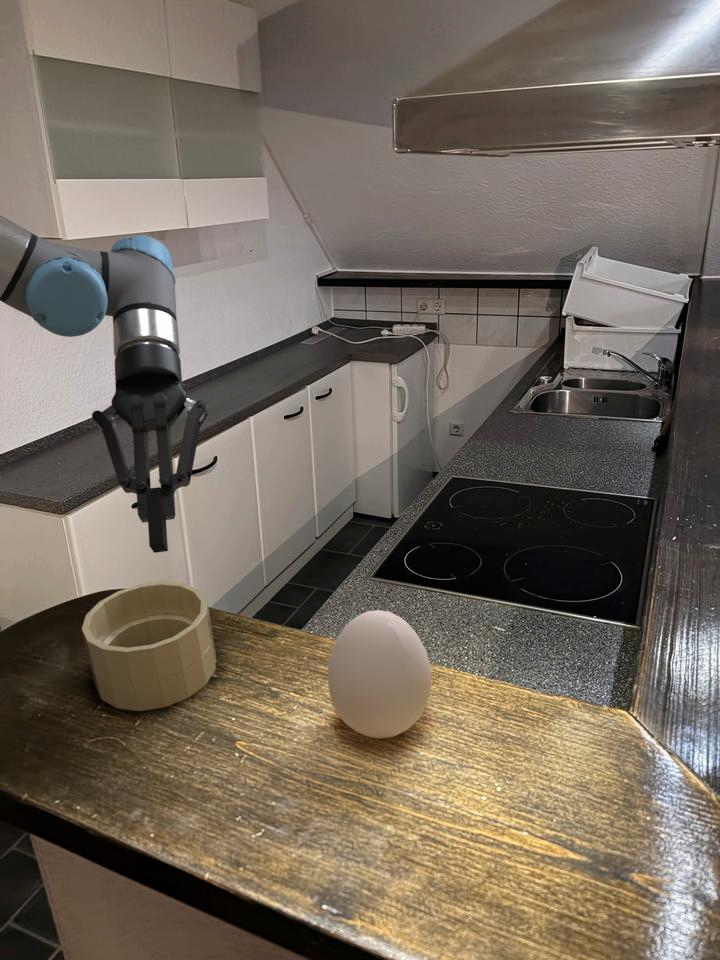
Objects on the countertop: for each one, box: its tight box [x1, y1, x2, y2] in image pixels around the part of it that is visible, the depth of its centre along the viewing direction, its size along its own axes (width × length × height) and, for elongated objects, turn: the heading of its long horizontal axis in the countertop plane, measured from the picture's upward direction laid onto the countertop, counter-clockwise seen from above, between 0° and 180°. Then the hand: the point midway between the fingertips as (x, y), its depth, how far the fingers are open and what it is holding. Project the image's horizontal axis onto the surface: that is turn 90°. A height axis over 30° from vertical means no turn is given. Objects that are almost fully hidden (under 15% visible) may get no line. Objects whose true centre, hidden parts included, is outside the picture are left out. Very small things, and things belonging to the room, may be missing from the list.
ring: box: [81, 581, 217, 712], centre depth 72 cm, size 11×11×8 cm
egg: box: [327, 609, 432, 740], centre depth 64 cm, size 9×9×11 cm
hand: (158, 548), depth 82 cm, fingers closed
